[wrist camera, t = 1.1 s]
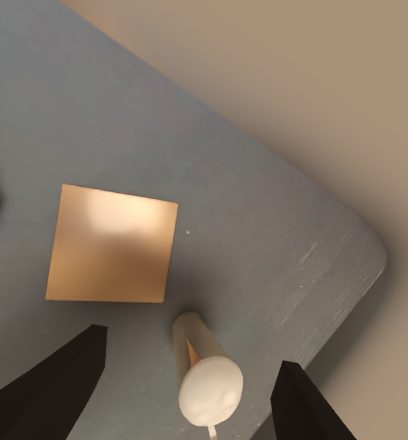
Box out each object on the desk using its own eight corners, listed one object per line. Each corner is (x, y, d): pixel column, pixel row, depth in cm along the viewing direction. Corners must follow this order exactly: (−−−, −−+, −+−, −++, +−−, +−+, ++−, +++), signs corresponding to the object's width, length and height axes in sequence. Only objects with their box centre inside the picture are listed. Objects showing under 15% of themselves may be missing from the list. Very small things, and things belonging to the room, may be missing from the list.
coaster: (162, 301, 21) (163, 302, 20) (47, 298, 18) (45, 300, 18) (178, 203, 21) (178, 203, 20) (63, 183, 18) (62, 183, 17)
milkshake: (163, 357, 21) (182, 480, 12) (166, 306, 21) (187, 389, 11) (205, 351, 23) (253, 457, 13) (209, 303, 22) (259, 375, 13)
